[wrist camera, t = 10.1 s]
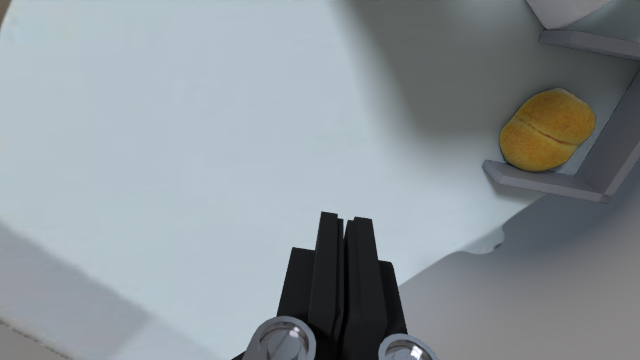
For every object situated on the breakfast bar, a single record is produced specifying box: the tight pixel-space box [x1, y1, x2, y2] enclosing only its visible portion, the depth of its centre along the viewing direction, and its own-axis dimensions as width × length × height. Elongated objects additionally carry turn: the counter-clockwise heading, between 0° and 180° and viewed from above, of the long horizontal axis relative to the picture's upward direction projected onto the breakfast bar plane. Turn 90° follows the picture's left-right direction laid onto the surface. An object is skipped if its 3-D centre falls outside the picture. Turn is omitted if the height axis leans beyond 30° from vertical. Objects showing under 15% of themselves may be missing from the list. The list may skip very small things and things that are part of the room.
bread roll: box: [499, 88, 596, 171], centre depth 33 cm, size 8×9×4 cm
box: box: [482, 30, 640, 204], centre depth 32 cm, size 15×12×4 cm
